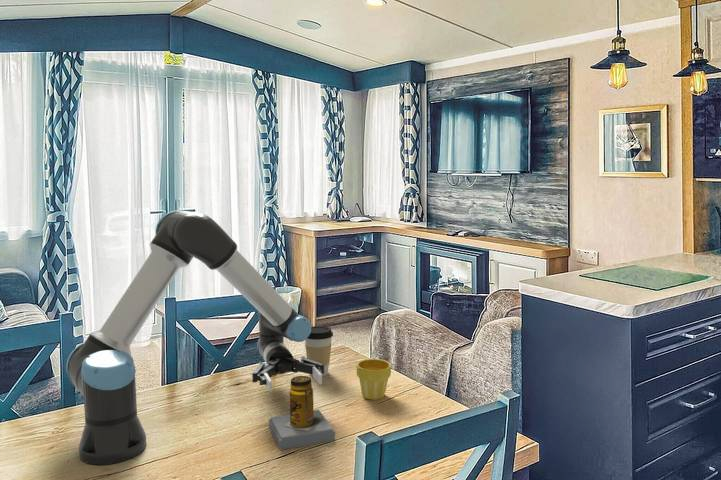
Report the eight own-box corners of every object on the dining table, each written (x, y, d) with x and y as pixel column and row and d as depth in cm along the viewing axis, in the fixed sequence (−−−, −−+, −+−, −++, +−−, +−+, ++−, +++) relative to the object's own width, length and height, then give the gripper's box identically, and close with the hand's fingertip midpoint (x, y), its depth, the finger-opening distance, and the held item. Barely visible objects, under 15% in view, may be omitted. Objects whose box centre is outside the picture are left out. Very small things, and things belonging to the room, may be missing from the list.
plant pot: (397, 393, 177) (397, 362, 176) (379, 405, 168) (379, 372, 167) (368, 386, 183) (368, 356, 181) (349, 397, 174) (349, 365, 173)
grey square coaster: (280, 450, 142) (280, 438, 142) (269, 427, 154) (268, 416, 154) (334, 440, 147) (334, 429, 147) (319, 419, 159) (319, 408, 159)
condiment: (283, 426, 148) (282, 381, 147) (300, 413, 156) (300, 370, 154) (307, 432, 145) (307, 385, 144) (324, 418, 153) (324, 374, 151)
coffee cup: (335, 368, 199) (335, 325, 197) (331, 379, 189) (330, 334, 187) (306, 367, 200) (306, 325, 198) (301, 378, 190) (300, 333, 188)
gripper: (318, 365, 179) (340, 389, 159) (236, 375, 171) (249, 403, 151) (318, 341, 178) (340, 363, 158) (235, 350, 170) (248, 375, 150)
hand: (295, 382), depth 155 cm, fingers open, 13 cm apart
